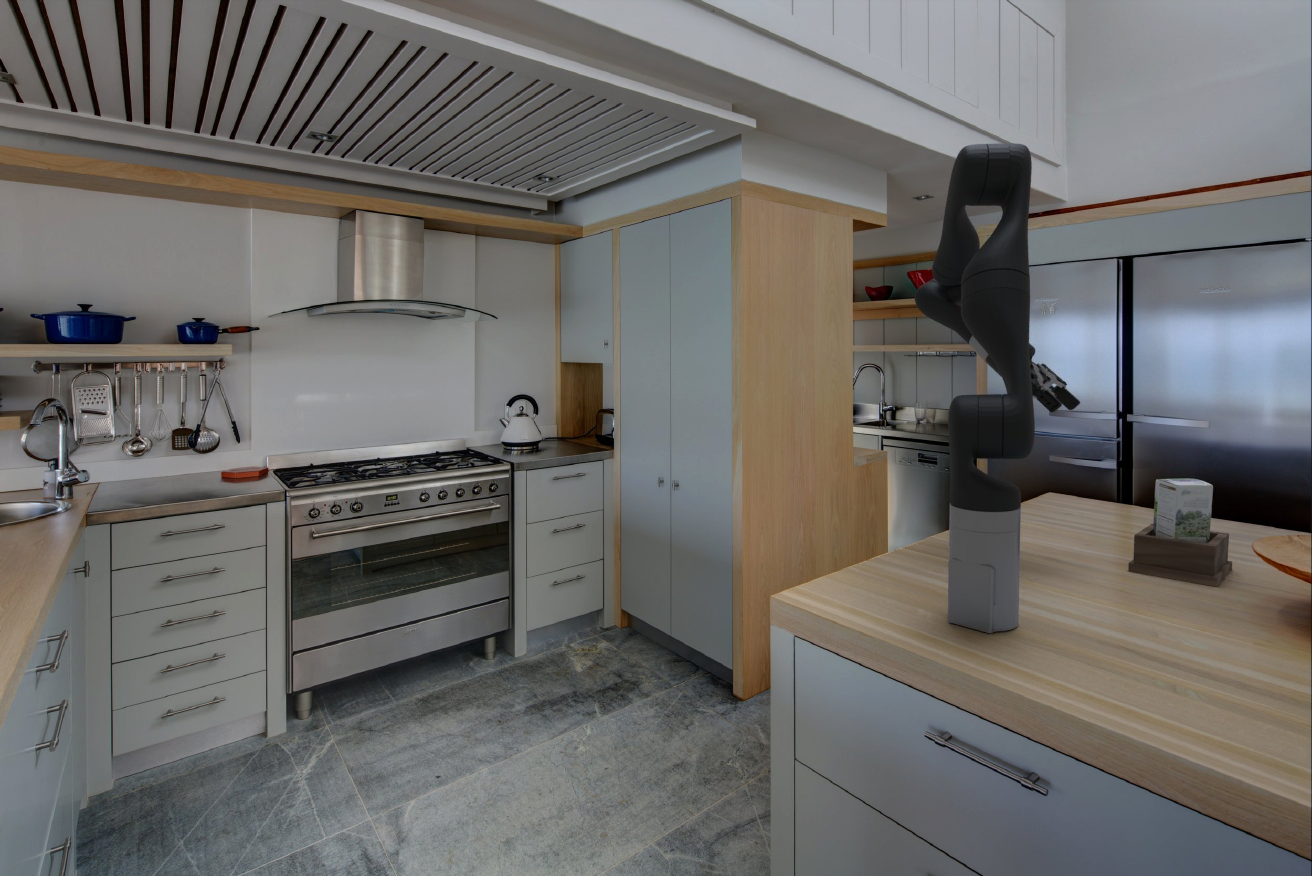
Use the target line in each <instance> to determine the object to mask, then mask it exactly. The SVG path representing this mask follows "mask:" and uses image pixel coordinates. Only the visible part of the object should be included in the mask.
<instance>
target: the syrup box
mask: <svg viewBox="0 0 1312 876" xmlns="http://www.w3.org/2000/svg"><path fill="white" fill-rule="evenodd" d="M1213 492H1214V486H1213V484H1211V483H1209V482H1208V481H1207V482H1206V481H1204V480H1200V479H1197V478H1156V480H1155V487H1154V504H1153V506H1154V507H1153V523H1152V524H1153V536H1157V537H1164V538H1171V539H1178V540H1185V541H1192V542H1200V543H1207V544H1208V543H1209V538H1210V531H1211V522H1212V509H1213V507H1212V505H1213Z"/></svg>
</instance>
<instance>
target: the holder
mask: <svg viewBox="0 0 1312 876" xmlns="http://www.w3.org/2000/svg"><path fill="white" fill-rule="evenodd" d="M1133 538H1134V539H1133V558H1132V560H1130V561H1129V562H1128V569H1127V572H1132V573H1136V574H1137V573H1138V574H1143V575H1149V576H1152V577H1153V576H1155V577H1159V578H1160V577H1161V578H1165V579H1171V580H1177V581H1182V582H1189V583H1194V584H1199V585H1205V586H1210V587H1216V588H1217V587H1218V586H1219V585H1220V584H1221V583H1222V582H1223V581H1224V580H1225V578H1227V576H1228V575H1229V574H1230V573H1231V572H1232V571H1231V570H1233V561H1231V560H1229V546H1230V545H1229V542H1230V533H1227V532H1220V531H1219V532H1218V531H1213V530H1210V538H1209V543H1208V544H1207V543H1200V542H1192V541H1185V540H1178V539H1171V538H1164V537H1157V536H1153V523H1150V524H1149V525H1147V526H1146V527H1144V528H1143V529H1141V530H1140V531H1138V532H1137V533H1135V534H1134V536H1133ZM1230 571H1231V572H1230Z"/></svg>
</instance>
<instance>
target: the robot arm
mask: <svg viewBox="0 0 1312 876" xmlns="http://www.w3.org/2000/svg"><path fill="white" fill-rule="evenodd" d="M1032 164H1033V163H1032V154H1031V151H1030V148H1028V146H1027V145H1025V144H1023V143H1010V142H1008V143H1006V142H1004V143H1001V142H1000V143H976V144H975V143H974V144H969V145H965V146H964V147H963V148H961V149H960V150H959V152H958V153H957V156H956V157H955V159H954V163H953V166H952V169H951V175H950V179H949V184H948V191H947V196H946V202H945V207H944V208H945V209H944V216H943V222H942V230H941V236H940V240H939V245H938V248H937V250H936V254H935V256H934V259H933V263H932V266H931V267H932V268H931V273H932V276H933V278H932V279H930V280H928V281H927V282H925V283H923V284H922V285H921V286H919V287H918V288H917V289H916V291H915V293H914V302H915V305H916V307H917V309H918V310H919V312H921V313H922V314H923V315H924V316H926V318H928V319H930V320H932V321H934V322H936V323H938V324H940V325H942V326H944V327H946V328H948V329H950V330H951V331H954V333H956V334H957V335H958V336H960V337H961V339H962V340H964V341H965V342H966V343H967V344H968V345H969V346H970V348H972V349H973V351H974V352H975V354H977V355H978V356H979V358H980V359H982V361H984V362H985V363H986V364H987V365H988V366H990V368H991V369H992V370H993V371H994V372H996V374H998V375H999V376H1000V377H1001V379H1002V382H1003V384H1004V387H1005V391H1006V393H1003V394H1001V393H993V394H989V393H988V394H987V393H986V394H962V395H957V396H954V398H953V399H952V400H951V402H950V405H949V409H948V419H947V422H948V424H947V426H948V446H949V466H950V474H949V475H950V476H949V477H950V478H949V479H950V480H949V481H950V482H949V484H950V485H949V527H948V528H949V529H948V531H949V533H948V535H949V537H948V543H949V544H948V546H949V547H948V564H947V565H948V571H947V572H948V577H947V578H948V579H947V580H948V581H947V583H948V584H947V586H948V589H947V592H948V593H947V598H948V599H947V621H948V622H947V623H951V624H955V625H959V626H962V627H965V628H969V629H972V630H977V631H980V632H985V633H987V634H993V633H994V632H995V633H996V632H1006V631H1010V630H1014V629H1016V628H1017V627H1018V626H1019V624H1020V623H1019V617H1020V615H1019V613H1020V563H1021V562H1020V561H1021V555H1020V554H1021V522H1022V521H1021V517H1022V513H1021V512H1022V507H1021V506H1022V493H1021V490H1020V488H1019V486H1017V485H1015V484H1013V483H1011V482H1008V481H1005V480H1001V479H999V478H996V477H994V476H992V475H989V474H987V473H985V472H984V471H982V470H981V469H980V468H978V467H977V466H976V464H975V463H974V460H975V459H976V460H979V459H981V460H983V459H984V460H1023V459H1026V458H1028V457H1029V456H1030V455H1031V454H1032V451H1033V447H1034V443H1035V437H1036V433H1035V432H1036V431H1035V428H1036V427H1035V425H1036V422H1035V409H1034V399H1036V400H1037V401H1038V402H1039V403H1040V404H1041V405H1042V406H1043V407H1044V408H1045V409H1046V410H1047V411H1049V413H1056V412H1057V411H1058V410H1059V409H1060V408H1061V407H1065V408H1066V409H1067V410H1069V411H1073V410H1074V409H1076V408H1077V407H1078V406H1079V405H1080V404H1081V401H1080V400H1079V399H1078V398H1077V397H1076V396H1075V395H1074V394H1073V393H1071V392H1070V391H1069V390H1068V389H1067V386H1068V383H1067V382H1066V381H1065V380H1063V379H1062V378H1061V377H1060V376H1059V375H1057V374H1056V373H1055V372H1054V371H1053V370H1052V369H1050V367H1048V366H1047V365H1046V364H1045V363H1042V362H1041V364H1040V363H1035V362H1034V361H1033V357H1034V356H1035V354H1036V348H1035V347H1034V345H1032V344H1031V343H1030V316H1031V315H1030V314H1031V278H1030V277H1031V276H1030V262H1029V261H1030V260H1029V258H1030V257H1029V214H1030V198H1031V184H1032V169H1033V168H1032V166H1033V165H1032ZM966 206H969V207H985V206H987V207H993V206H994V207H995V206H996V207H1000V208H1001V209H1002V213H1001V214H1002V216H1001V219H999V221H998V224H997V225H996V226H995V228H994V230H993V231H992V233H991V234H990V236H989V237H988V238H987V240H986V241H984V243H983V244H982V245H981V243H980V238H979V237H980V236H979V234H978V232H977V230H976V228H975V226H974V225H973V223H972V222H971V220H970V218H969V215H968V213H967V211H966ZM1054 385H1055V386H1054Z"/></svg>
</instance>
